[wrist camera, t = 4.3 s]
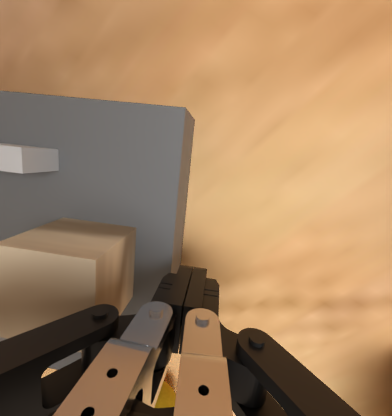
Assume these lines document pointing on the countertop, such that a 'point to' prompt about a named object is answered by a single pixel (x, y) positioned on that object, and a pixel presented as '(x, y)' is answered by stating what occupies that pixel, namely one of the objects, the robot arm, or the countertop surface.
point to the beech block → (64, 272)
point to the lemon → (166, 397)
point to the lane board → (98, 175)
